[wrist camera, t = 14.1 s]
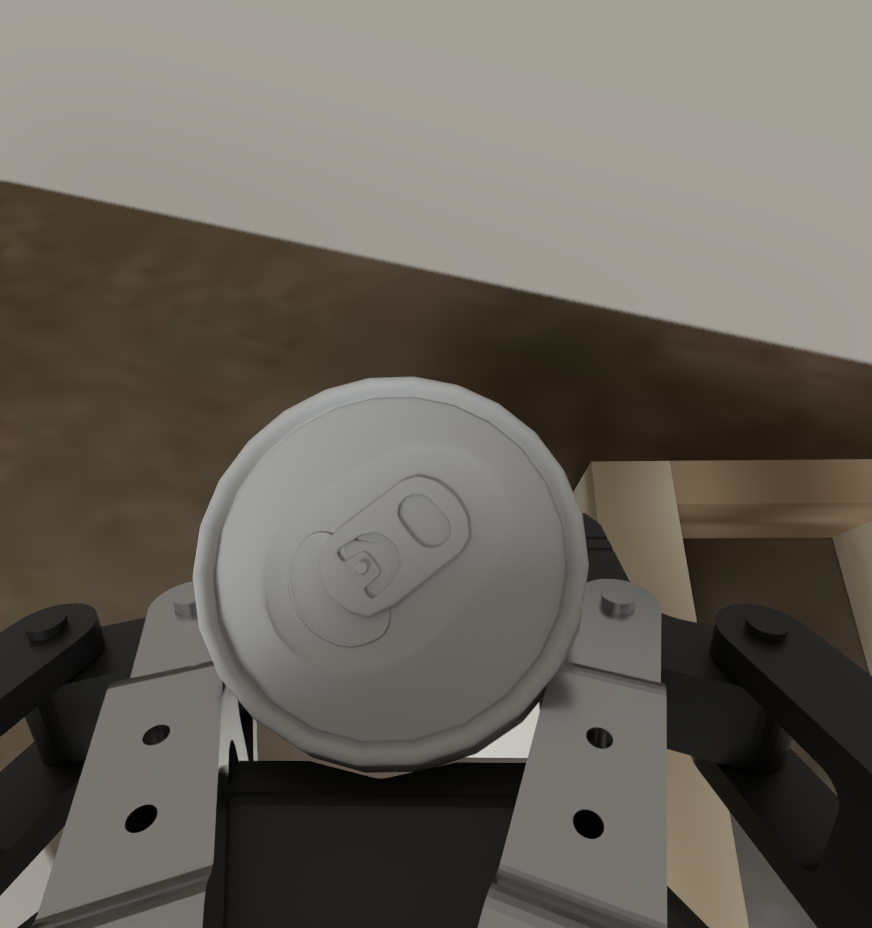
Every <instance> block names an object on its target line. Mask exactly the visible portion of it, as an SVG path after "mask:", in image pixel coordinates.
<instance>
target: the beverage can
mask: <svg viewBox="0 0 872 928" xmlns="http://www.w3.org/2000/svg"><path fill="white" fill-rule="evenodd" d="M588 569H589V562H588V554H587V546H586V538H585V530H584V522H583V515H582V512H581V510H580V508H579V505H578V503H577V500H576V498H575V496H574V493H573V491H572V488H571V486H570V484H569V481H568V479H567V476H566V474H565V471H564V470H563V468H562V467H561V466H560V464H559V463H558V462H557V460H556V459H555V458H554V456H553V455H552V454H551V452H550V451H549V450H548V448H547V447H546V446H545V444H544V443H543V442H542V440H541V439H540V438H539V436H538V435H537V434H536V433H535V432H534V431H533V430H532V429H530V428H529V427H528V426H527V425H525V424H524V423H523V422H522V421H520V420H519V419H518V418H516V417H515V416H514V415H513V414H511V413H510V412H509V411H508V410H506V409H505V408H504V407H503V406H501V405H500V404H498V403H496V402H494V401H492V400H490V399H487V398H485V397H483V396H481V395H479V394H477V393H474V392H472V391H470V390H468V389H466V388H463V387H461V386H459V385H455V384H450V383H445V382H440V381H435V380H429V379H424V378H419V377H385V378H367V379H364V380H360V381H356V382H352V383H349V384H345V385H341V386H337V387H333V388H330V389H326V390H324V391H322V392H320V393H318V394H316V395H314V396H312V397H310V398H308V399H306V400H304V401H302V402H300V403H299V404H297V405H295V406H293V407H291V408H289V409H287V410H285V411H284V412H282V413H281V414H280V415H279V416H278V417H276V418H275V419H274V420H273V421H272V422H271V423H269V424H268V425H267V426H266V427H265V428H264V429H262V430H261V431H260V432H259V433H258V434H257V435H255V436H254V437H253V438H252V439H251V440H249V441H248V443H247V444H246V445H245V447H244V448H243V449H242V451H241V452H240V453H239V455H238V456H237V457H236V459H235V460H234V461H233V463H232V464H231V465H230V467H229V468H228V469H227V471H226V472H225V473H224V475H223V476H222V477H221V479H220V480H219V483H218V485H217V487H216V490H215V492H214V494H213V497H212V499H211V502H210V504H209V506H208V509H207V511H206V513H205V516H204V518H203V521H202V523H201V525H200V532H199V538H198V545H197V551H196V558H195V564H194V571H193V583H194V591H195V600H196V608H197V617H198V625H199V629H200V632H201V634H202V637H203V639H204V641H205V644H206V646H207V649H208V651H209V654H210V656H211V658H212V661H213V663H214V666H215V668H216V671H217V673H218V675H219V677H220V679H221V680H222V681H223V682H224V683H225V685H226V686H227V687H228V688H229V689H230V691H231V692H232V693H233V694H234V696H235V697H236V698H237V699H238V700H239V702H240V703H241V704H242V705H243V706H244V708H245V709H246V710H247V711H248V713H249V714H250V715H251V716H252V717H253V719H254V720H256V721H257V722H259V723H260V724H262V725H263V726H265V727H266V728H268V729H269V730H271V731H272V732H274V733H275V734H277V735H278V736H280V737H281V738H283V739H284V740H286V741H288V742H289V743H291V744H292V745H294V746H295V747H297V748H298V749H300V750H301V751H303V752H305V753H306V754H308V755H309V756H311V757H312V758H316V759H320V760H323V761H327V762H330V763H334V764H337V765H341V766H344V767H348V768H351V769H355V770H358V771H362V772H365V773H369V772H417V771H421V770H425V769H430V768H434V767H437V766H440V765H444V764H447V763H450V762H453V761H456V760H459V759H462V758H465V757H468V756H471V755H474V754H477V753H478V752H480V751H481V750H482V749H484V748H485V747H487V746H488V745H490V744H491V743H493V742H494V741H496V740H497V739H499V738H500V737H501V736H503V735H504V734H506V733H507V732H509V731H510V730H512V729H513V728H515V727H516V726H518V725H519V724H520V723H522V722H523V721H524V720H525V719H526V717H527V716H528V715H529V714H530V713H531V711H532V710H533V709H534V708H535V706H536V705H537V704H538V703H539V702H540V700H541V699H542V698H543V697H544V694H545V690H546V686H547V684H548V682H549V681H550V680H551V679H552V677H553V676H554V675H555V674H556V673H557V671H558V670H559V668H560V666H561V664H562V662H563V660H565V661H566V660H567V657H568V655H569V653H570V651H571V648H572V646H573V644H574V641H575V639H576V637H577V635H578V632H579V630H580V623H581V618H582V612H583V604H584V597H585V590H586V583H587V576H588Z"/></svg>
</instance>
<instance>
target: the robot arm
mask: <svg viewBox="0 0 872 928" xmlns="http://www.w3.org/2000/svg"><path fill="white" fill-rule="evenodd" d="M582 515H583V522H584V530H585V538H586V546H587V554H588V562H589V569H588V576H587V583H586V590H585V597H584V604H583V612H582V618H581V623H580V630H579V632H578V635H577V637H576V639H575V641H574V644H573V646H572V648H571V651H570V653H569V655H568V657H567V660H566V661H565V660H563V662H562V664H561V666H560V668H559V670H558V671H557V673H556V674H555V675H554V676H553V677H552V679H551V680H550V681H549V682H548V684H547V686H546V690H545V694H544V697H543V701H542V705H541V709H540V713H539V716H538V720H537V724H536V728H535V732H534V736H533V739H532V743H531V747H530V751H529V755H528V759H527V762H526V763H457V762H456V763H452V764H448V765H443V766H439V767H434V768H430V769H425V770H421V771H417V772H412V773H408V774H403V775H399V776H394V777H390V778H384V779H377V778H372V777H368V776H364V775H360V774H357V773H353V772H349V771H345V770H341V769H337V768H334V767H330V766H326V765H322V764H318V763H314V762H311V761H258V760H257V721H256V720H254V719H253V717H252V716H251V715H250V714H249V713H248V711H247V710H246V709H245V708H244V706H243V705H242V704H241V703H240V702H239V700H238V699H237V698H236V697H235V696H234V694H233V693H232V692H231V691H230V689H229V688H228V687H227V686H226V685H225V683H224V682H223V681H222V680H221V679H220V677H219V675H218V673H217V671H216V668H215V666H214V663H213V661H212V658H211V656H210V654H209V651H208V649H207V646H206V644H205V641H204V639H203V637H202V634H201V632H200V629H199V625H198V617H197V608H196V600H195V591H194V583H193V582H188V583H185V584H181V585H179V586H176V587H174V588H172V589H170V590H168V591H166V592H165V593H163V594H161V595H160V596H159V597H158V598H156V599H155V600H154V601H153V603H152V604H151V605H150V607H149V609H148V612H147V616H146V618H142V619H138V620H133V621H128V622H123V623H118V624H112V625H107V626H102V627H101V626H100V622H99V619H98V616H97V613H96V610H95V609H94V608H93V607H91V606H89V605H85V604H78V603H76V604H63V605H57V606H53V607H49V608H46V609H43V610H40V611H38V612H35V613H33V614H30V615H28V616H26V617H24V618H23V619H21V620H19V621H18V622H16V623H14V624H13V625H11V626H10V627H8V628H7V629H5V630H4V631H2V632H1V633H0V737H1V736H2V735H3V734H4V733H5V732H7V731H8V730H9V729H10V728H12V727H13V726H14V725H15V724H16V723H18V722H19V721H20V720H21V719H22V718H24V717H25V719H26V722H27V724H28V727H29V729H30V732H31V734H32V737H33V739H34V742H33V743H32V744H31V745H30V746H29V747H28V748H27V749H26V750H24V751H23V752H22V753H21V754H20V755H19V756H18V757H16V758H15V759H14V760H13V761H12V762H11V763H10V764H9V765H7V766H6V767H5V768H4V769H3V770H2V771H1V772H0V895H1V894H2V893H3V892H4V891H5V890H6V889H7V888H8V887H9V886H10V884H11V883H12V882H13V881H14V880H15V879H16V878H17V877H18V876H19V875H20V874H21V873H22V871H23V870H24V869H25V868H26V867H27V866H28V865H29V864H30V863H31V862H32V861H33V860H34V858H35V857H36V856H37V855H38V854H39V853H40V852H41V851H42V850H43V849H44V848H45V847H46V845H47V844H48V843H49V842H50V841H51V840H52V839H53V838H54V837H55V836H56V835H57V834H58V832H59V831H60V830H61V829H62V828H63V827H64V826H65V828H64V831H63V834H62V838H61V841H60V844H59V847H58V851H57V854H56V857H55V860H54V864H53V867H52V870H51V873H50V877H49V880H48V883H47V886H46V890H45V893H44V896H43V899H42V902H41V906H40V909H39V911H38V912H37V913H35V914H34V915H33V916H32V917H30V918H29V919H28V920H27V921H25V922H24V923H23V924H22V925H20V926H19V927H18V928H709V927H708V926H707V925H706V924H705V923H704V922H703V921H702V920H701V919H700V918H699V917H698V916H697V915H696V914H695V913H694V912H693V911H692V910H691V909H690V908H689V907H688V906H687V905H686V904H685V903H684V902H683V901H682V900H681V899H680V898H679V897H678V896H677V895H676V894H675V893H674V892H673V891H672V890H671V889H670V888H669V887H668V886H667V749H669V750H672V751H676V752H679V753H683V754H687V755H690V756H691V758H692V760H693V762H694V764H695V766H696V767H697V769H698V770H699V772H700V773H701V774H702V776H703V777H704V778H705V780H706V781H707V782H708V783H709V785H710V786H711V787H712V789H713V790H714V791H715V793H716V794H717V795H718V797H719V798H720V799H721V801H722V802H723V803H724V805H725V806H726V807H727V809H728V810H729V811H730V813H731V814H732V815H733V817H734V818H735V819H736V820H737V822H738V823H739V824H740V826H741V827H742V828H743V830H744V831H745V832H746V834H747V835H748V836H749V838H750V839H751V840H752V842H753V843H754V844H755V846H756V847H757V848H758V850H759V851H760V852H761V854H762V855H763V856H764V858H765V859H766V860H767V861H768V863H769V864H770V865H771V867H772V868H773V869H774V871H775V872H776V873H777V875H778V876H779V877H780V879H781V880H782V881H783V883H784V884H785V885H786V887H787V888H788V889H789V891H790V892H791V893H792V895H793V896H794V897H795V898H796V900H797V901H798V902H799V904H800V905H801V906H802V908H803V909H804V910H805V912H806V913H807V914H808V916H809V917H810V918H811V920H812V921H813V922H814V924H815V925H816V926H817V928H872V676H871V675H869V674H868V673H867V672H865V671H864V670H863V669H862V668H860V667H859V666H858V665H856V664H855V663H854V662H852V661H851V660H850V659H848V658H847V657H846V656H844V655H843V654H842V653H840V652H839V651H838V650H836V649H835V648H834V647H833V646H831V645H830V644H829V643H827V642H826V641H825V640H823V639H822V638H821V637H819V636H818V635H817V634H815V633H814V632H813V631H811V630H810V629H809V628H807V627H806V626H805V625H804V624H802V623H801V622H799V621H798V620H796V619H794V618H793V617H791V616H789V615H787V614H785V613H782V612H780V611H777V610H774V609H771V608H768V607H764V606H759V605H752V604H736V605H731V606H727V607H725V608H723V609H722V610H720V611H719V612H718V614H717V616H716V620H715V625H714V626H711V625H706V624H701V623H696V622H691V621H686V620H682V619H678V618H674V617H671V616H668V615H666V614H663V613H661V605H660V603H659V601H658V600H657V598H656V597H655V596H654V595H653V594H652V593H650V592H649V591H648V590H646V589H644V588H643V587H641V586H638V585H636V584H634V583H631V582H630V581H629V579H628V577H627V575H626V573H625V571H624V569H623V567H622V565H621V563H620V561H619V559H618V558H617V556H616V554H615V552H614V551H613V548H612V546H611V544H610V542H609V540H607V536H606V534H605V532H604V530H603V528H602V526H601V524H599V523H598V522H597V521H595V520H594V519H593V518H591V517H590V516H588V515H587V514H586V513H582ZM792 738H793V739H794V740H795V741H796V742H797V743H798V744H799V745H800V746H801V747H802V748H803V749H804V750H805V751H806V752H807V753H808V754H809V755H810V756H811V757H812V758H813V759H814V760H815V761H816V762H817V763H818V764H819V765H820V766H821V767H822V768H823V770H824V771H825V772H826V773H827V775H828V776H829V778H830V779H831V781H832V783H833V785H834V787H835V789H836V792H837V795H838V797H837V796H836V795H835V794H834V793H833V792H832V791H831V790H830V789H829V788H828V787H827V786H826V785H825V783H824V782H823V781H822V780H821V779H820V778H819V777H818V776H817V775H816V774H815V773H814V772H813V771H812V770H811V769H810V768H809V767H808V766H807V765H806V764H805V763H804V762H803V761H802V760H801V759H800V758H799V757H798V756H797V755H796V754H795V753H794V752H793V751H792V749H791V748H790V745H791V741H792Z"/></svg>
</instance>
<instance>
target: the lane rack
mask: <svg viewBox="0 0 872 928" xmlns="http://www.w3.org/2000/svg"><path fill="white" fill-rule="evenodd" d="M573 493H574V496H575V498H576V500H577V503H578V505H579V508H580V510H581V512H582V513H586V514H587V515H588V516H590V517H591V518H593V519H594V520H595V521H597V522H598V523H599V524H601V526H602V528H603V530H604V532H605V534H606V536H607V540H609V542H610V544H611V546H612V548H613V551H614V552H615V554H616V556H617V558H618V559H619V561H620V563H621V565H622V567H623V569H624V571H625V573H626V575H627V577H628V579H629V581H630V582H631V583H634V584H636V585H638V586H641V587H643V588H644V589H646V590H648V591H649V592H650V593H652V594H653V595H654V596H655V597H656V598H657V600H658V601H659V603H660V605H661V613H663V614H666V615H668V616H671V617H674V618H678V619H682V620H686V621H691V622H696V623H697V620H696V614H695V608H694V602H693V597H692V591H691V585H690V579H689V573H688V567H687V561H686V556H685V550H684V544H683V538H832V539H833V543H834V546H835V550H836V554H837V557H838V561H839V565H840V568H841V572H842V575H843V579H844V583H845V586H846V590H847V594H848V597H849V601H850V604H851V608H852V612H853V615H854V619H855V622H856V626H857V630H858V633H859V637H860V641H861V644H862V648H863V651H864V655H865V659H866V662H867V666H868V670H869V673H870V675H871V676H872V459H829V460H717V461H604V462H591V463H590V464H589V466H588V468H587V470H586V471H585V473H584V475H583V477H582V478H581V480H580V482H579V483H578V485H577V487H576V489H575V490H574V492H573ZM667 886H668V887H669V888H670V889H671V890H672V891H673V892H674V893H675V894H676V895H677V896H678V897H679V898H680V899H681V900H682V901H683V902H684V903H685V904H686V905H687V906H688V907H689V908H690V909H691V910H692V911H693V912H694V913H695V914H696V915H697V916H698V917H699V918H700V919H701V920H702V921H703V922H704V923H705V924H706V925H707V926H708V927H709V928H749V925H748V919H747V914H746V908H745V902H744V896H743V890H742V884H741V878H740V872H739V867H738V861H737V855H736V849H735V843H734V837H733V831H732V826H731V820H730V814H729V810H728V809H727V807H726V806H725V805H724V803H723V802H722V801H721V799H720V798H719V797H718V795H717V794H716V793H715V791H714V790H713V789H712V787H711V786H710V785H709V783H708V782H707V781H706V780H705V778H704V777H703V776H702V774H701V773H700V772H699V770H698V769H697V767H696V766H695V764H694V762H693V760H692V758H691V756H690V755H687V754H683V753H679V752H676V751H672V750H669V749H667Z"/></svg>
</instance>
